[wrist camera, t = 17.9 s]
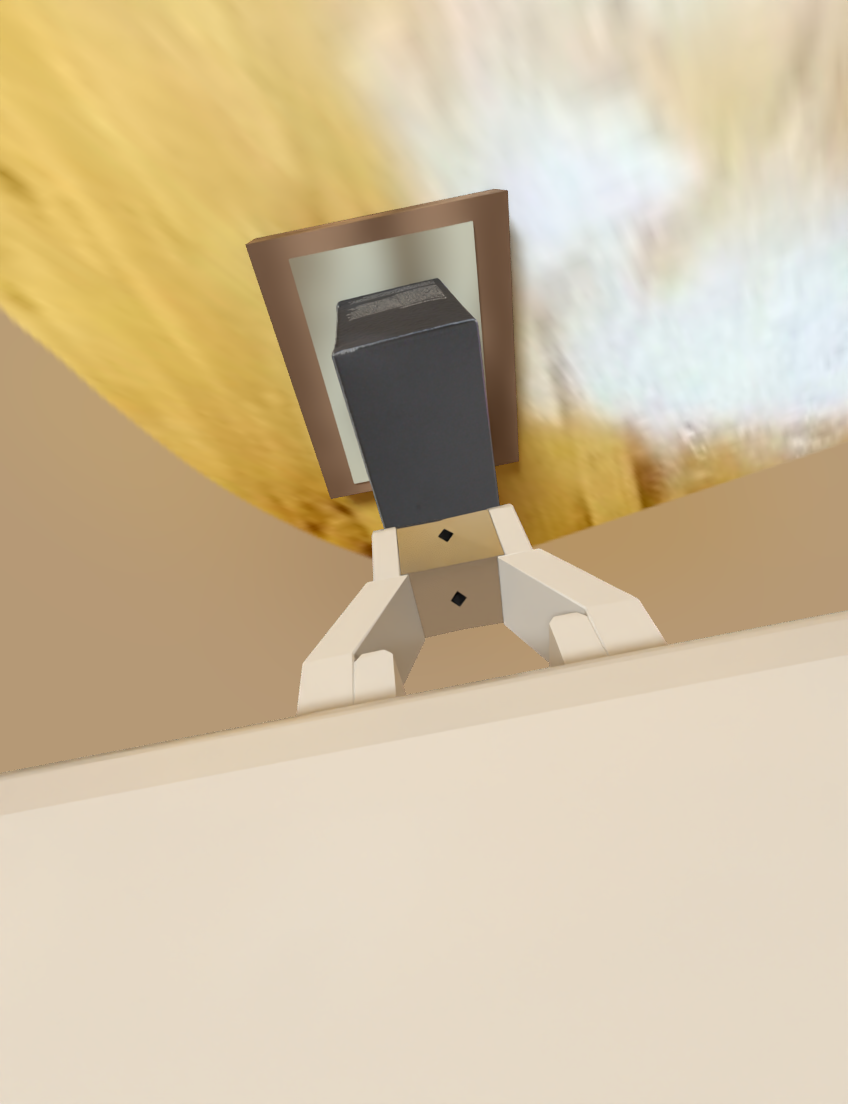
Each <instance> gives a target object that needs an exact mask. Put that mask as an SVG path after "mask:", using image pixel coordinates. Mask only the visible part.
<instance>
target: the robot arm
mask: <svg viewBox="0 0 848 1104" xmlns="http://www.w3.org/2000/svg"><path fill="white" fill-rule="evenodd" d="M372 555H373V581H372V582H368V583H366V584H365V585H364V587H363V588H362V589H361V591H360V592H359V593H358V594H357V596H356V597H355V598H354V599H353V601H352V602H351V603H350V604H349V606H348V607H347V608H346V610H345V611H344V612H343V614H341V616H340V617H339V619H338V620H337V621H336V622H335V623H334V625H333V626H332V627H331V628H330V630H329V631H328V632H327V633H326V635H325V636H324V637H323V638H322V640H321V641H320V642H319V644H318V645H317V646H316V647H315V649H314V650H313V651H312V653H311V654H310V655H309V656H308V658H307V659H306V660H305V661H304V663H303V665H302V674H301V682H300V690H299V699H298V708H297V716H295V717H290V718H284V719H279V720H274V721H269V722H264V723H259V724H253V725H248V726H243V727H237V728H232V729H228V730H222V731H217V732H212V733H206V734H202V735H196V736H191V737H185V738H181V739H175V740H170V741H165V742H159V743H154V744H149V745H144V746H139V747H134V748H128V749H123V750H118V751H113V752H107V753H102V754H97V755H92V756H86V757H81V758H76V759H71V760H66V761H60V762H55V763H50V764H45V765H39V766H34V767H29V768H24V769H19V770H14V771H8V772H3V773H0V1104H848V610H847V611H842V612H836V613H831V614H826V615H821V616H816V617H810V618H805V619H800V620H794V621H789V622H784V623H779V624H774V625H769V626H763V627H758V628H753V629H749V630H743V631H738V632H732V633H727V634H722V635H717V636H712V637H707V638H702V639H696V640H692V641H686V642H681V643H676V644H670V645H668V644H667V643H666V641H665V640H664V638H663V637H662V635H661V634H660V632H659V630H658V629H657V627H656V626H655V624H654V623H653V621H652V620H651V618H650V616H649V615H648V613H647V612H646V610H645V608H644V607H643V605H642V604H641V602H640V601H639V599H638V598H636V597H634V596H632V595H630V594H628V593H626V592H624V591H622V590H620V589H618V588H616V587H614V586H612V585H610V584H608V583H606V582H604V581H602V580H601V579H599V578H597V577H595V576H593V575H591V574H589V573H587V572H585V571H583V570H581V569H579V568H577V567H575V566H573V565H571V564H569V563H568V562H565V561H563V560H562V559H560V558H558V557H556V556H554V555H552V554H550V553H548V552H546V551H544V550H542V549H540V548H539V549H533V548H532V546H531V544H530V542H529V540H528V537H527V535H526V533H525V531H524V529H523V527H522V524H521V522H520V520H519V518H518V516H517V513H516V511H515V509H514V507H513V505H511V504H505V505H501V506H497V507H493V508H488V509H487V510H482V511H477V512H473V513H468V514H463V515H458V516H454V517H449V518H444V519H436V520H431V521H425V522H419V523H414V524H408V525H403V526H397V528H396V527H392V528H387V529H382V530H377V531H373V534H372ZM498 623H504V625H506V626H507V627H508V628H509V629H510V630H512V631H513V632H514V633H515V634H516V635H517V636H518V637H520V638H521V639H522V640H523V641H524V642H526V643H527V644H528V645H529V646H530V647H531V648H533V649H534V650H535V651H536V652H537V653H538V654H540V655H541V656H542V657H543V658H544V659H545V660H547V661H548V662H549V668H545V669H539V670H534V671H529V672H523V673H518V674H513V675H508V676H503V677H498V678H492V679H487V680H482V681H477V682H472V683H466V684H462V685H456V686H451V687H446V688H440V689H436V690H430V691H425V692H420V693H415V694H409V695H406V693H405V689H404V683H405V681H406V679H407V677H408V675H409V673H410V671H411V669H412V667H413V665H414V663H415V660H416V658H417V656H418V654H419V652H420V650H421V648H422V646H423V644H424V642H425V638H426V637H431V636H436V635H440V634H445V633H449V632H454V631H458V630H463V629H468V628H474V627H480V626H486V625H492V624H498Z"/></svg>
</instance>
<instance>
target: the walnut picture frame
mask: <svg viewBox="0 0 848 1104" xmlns="http://www.w3.org/2000/svg"><path fill="white" fill-rule="evenodd" d="M246 248H247V251H248V254H249V257H250V260H251V263H252V266H253V269H254V272H255V274H256V277H257V280H258V283H259V286H260V289H261V292H262V295H263V298H264V301H265V304H266V307H267V310H268V313H269V316H270V319H271V322H272V325H273V328H274V331H275V334H276V337H277V340H278V343H279V346H280V349H281V352H282V355H283V358H284V361H285V364H286V367H287V370H288V373H289V376H290V379H291V382H292V385H293V388H294V390H295V393H296V396H297V399H298V402H299V405H300V408H301V411H302V414H303V417H304V420H305V423H306V426H307V429H308V432H309V435H310V438H311V441H312V444H313V447H314V450H315V453H316V456H317V459H318V462H319V465H320V468H321V471H322V474H323V477H324V480H325V483H326V486H327V489H328V492H329V495H330V498H331V499H333V498H338V497H343V496H348V495H353V494H358V493H363V492H368V491H373V490H372V487H371V484H370V481H369V478H368V475H367V472H366V468H365V465H364V462H363V459H362V456H361V452H360V449H359V445H358V442H357V439H356V436H355V433H354V429H353V426H352V423H351V419H350V416H349V413H348V410H347V407H346V403H345V400H344V397H343V393H342V390H341V387H340V383H339V380H338V377H337V374H336V370H335V367H334V363H333V360H332V351H333V349H334V344H335V338H336V320H337V312H336V305H337V303H338V302H339V301H342V300H347V299H351V298H355V297H359V296H363V295H368V294H372V293H375V292H380V291H384V290H388V289H392V288H396V287H400V286H404V285H409V284H412V283H417V282H421V281H426V280H430V279H435V278H438V279H440V280H441V281H442V283H443V284H444V285H445V286H446V287H447V288H448V290H449V291H450V292H451V293H452V294H453V295H454V296H455V297H456V299H457V300H458V301H459V302H460V303H461V304H462V305H463V306H464V307H465V308H466V309H467V310H468V311H469V313H470V314H471V315H472V316H473V317H474V318H475V319H476V320H477V321H478V326H479V335H480V342H481V352H482V360H483V369H484V378H485V387H486V395H487V404H488V412H489V421H490V430H491V438H492V446H493V455H494V463H495V466H498V465H503V464H508V463H513V462H518V461H519V452H518V428H517V404H516V379H515V355H514V331H513V307H512V282H511V258H510V234H509V210H508V190H500V189H492V190H487V191H482V192H478V193H473V194H468V195H463V196H458V197H453V198H449V199H444V200H439V201H434V202H429V203H425V204H420V205H415V206H410V207H405V208H400V209H396V210H391V211H386V212H381V213H376V214H372V215H367V216H362V217H357V218H352V219H347V220H343V221H338V222H333V223H328V224H323V225H319V226H314V227H309V228H304V229H299V230H294V231H290V232H285V233H280V234H275V235H270V236H266V237H261V238H256V239H254V240H252V241H251V242H249V243H247V244H246Z"/></svg>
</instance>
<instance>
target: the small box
mask: <svg viewBox="0 0 848 1104" xmlns="http://www.w3.org/2000/svg"><path fill="white" fill-rule="evenodd" d="M336 312H337V320H336V338H335V344H334V349H333V351H332V360H333V363H334V367H335V370H336V374H337V377H338V380H339V383H340V387H341V390H342V393H343V397H344V400H345V403H346V407H347V410H348V413H349V416H350V419H351V423H352V426H353V429H354V433H355V436H356V439H357V442H358V445H359V449H360V452H361V456H362V459H363V462H364V465H365V468H366V472H367V475H368V478H369V481H370V484H371V487H372V490H373V494H374V497H375V501H376V504H377V507H378V511H379V514H380V517H381V520H382V523H383V526H384V529H387V528H392V527H396V528H397V526H403V525H408V524H414V523H419V522H425V521H431V520H436V519H444V518H449V517H454V516H458V515H463V514H468V513H473V512H477V511H482V510H487V509H488V508H493V507H497V506H500V504H499V496H498V487H497V479H496V471H495V463H494V455H493V446H492V438H491V430H490V421H489V412H488V404H487V395H486V387H485V378H484V369H483V360H482V352H481V342H480V335H479V326H478V321H477V320H476V319H475V318H474V317H473V316H472V315H471V314H470V313H469V311H468V310H467V309H466V308H465V307H464V306H463V305H462V304H461V303H460V302H459V301H458V300H457V299H456V297H455V296H454V295H453V294H452V293H451V292H450V291H449V290H448V288H447V287H446V286H445V285H444V284H443V283H442V281H441V280H440V279H438V278H435V279H430V280H426V281H421V282H417V283H412V284H409V285H404V286H400V287H396V288H392V289H388V290H384V291H380V292H375V293H372V294H368V295H363V296H359V297H355V298H351V299H347V300H342V301H339V302H338V303H337V305H336Z"/></svg>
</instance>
